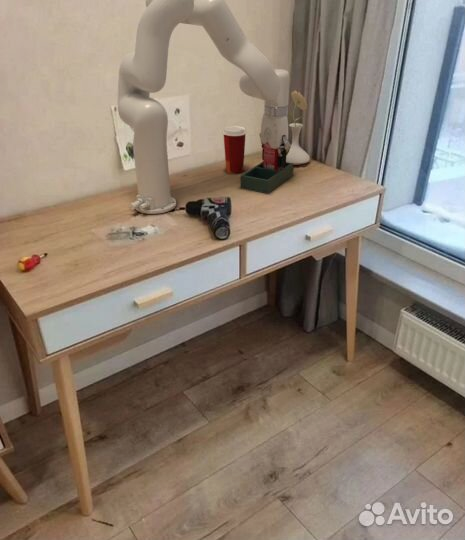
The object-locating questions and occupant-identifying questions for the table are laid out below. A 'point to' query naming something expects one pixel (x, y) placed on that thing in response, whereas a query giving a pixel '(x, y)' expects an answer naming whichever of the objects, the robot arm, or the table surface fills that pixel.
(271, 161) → the soda can
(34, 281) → the table surface
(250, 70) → the robot arm
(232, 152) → the coffee cup
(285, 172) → the compartment tray
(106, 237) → the table surface
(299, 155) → the flower in vase
